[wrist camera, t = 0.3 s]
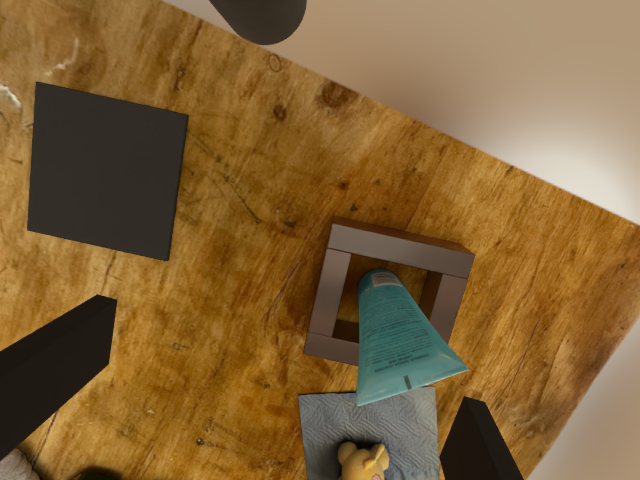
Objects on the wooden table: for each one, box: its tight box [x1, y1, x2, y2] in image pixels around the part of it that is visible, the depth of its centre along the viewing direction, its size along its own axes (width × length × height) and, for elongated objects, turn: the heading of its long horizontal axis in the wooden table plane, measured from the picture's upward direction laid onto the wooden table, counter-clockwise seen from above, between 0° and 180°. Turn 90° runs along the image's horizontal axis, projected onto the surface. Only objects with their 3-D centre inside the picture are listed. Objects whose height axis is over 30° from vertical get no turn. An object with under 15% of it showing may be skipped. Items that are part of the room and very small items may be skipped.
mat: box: [27, 82, 189, 261], centre depth 43 cm, size 16×16×1 cm
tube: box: [356, 269, 468, 406], centre depth 35 cm, size 7×5×19 cm, turn 117°
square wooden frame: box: [303, 216, 475, 383], centre depth 42 cm, size 14×14×5 cm
